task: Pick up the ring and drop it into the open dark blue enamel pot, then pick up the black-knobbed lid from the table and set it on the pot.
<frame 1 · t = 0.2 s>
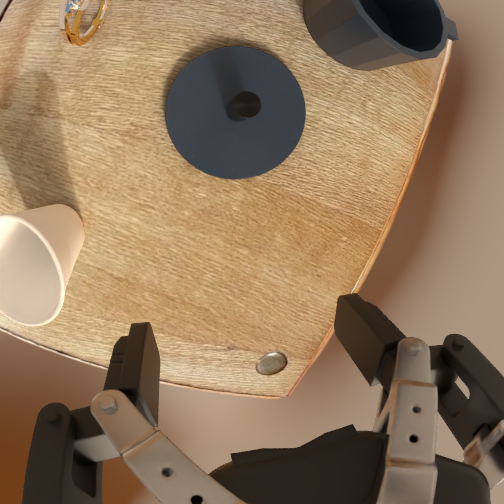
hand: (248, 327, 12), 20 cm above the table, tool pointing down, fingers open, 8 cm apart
ring: (99, 25, 19), on the table
cup: (62, 229, 27), on the table
lid: (237, 110, 25), point 1 cm above the table
pot: (353, 24, 24), on the table
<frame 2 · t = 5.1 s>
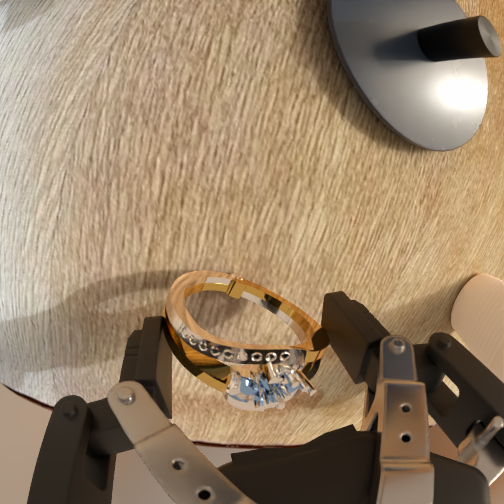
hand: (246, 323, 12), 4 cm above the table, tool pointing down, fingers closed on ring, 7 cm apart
ring: (233, 279, 16), on the table, touching gripper
cup: (467, 299, 22), on the table
lid: (424, 46, 11), point 1 cm above the table
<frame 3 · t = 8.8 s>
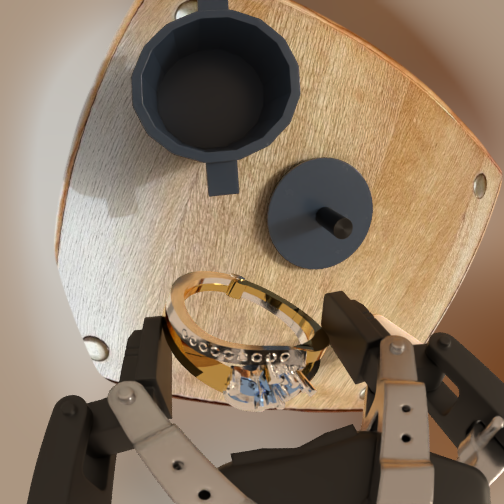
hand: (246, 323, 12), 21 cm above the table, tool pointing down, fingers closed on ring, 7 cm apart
ring: (233, 279, 16), point 17 cm above the table, touching gripper
cup: (368, 328, 43), on the table
lid: (322, 215, 33), point 1 cm above the table
pot: (210, 97, 27), on the table
when the fingers open (14 cm above the table, at t = 12.6 s): ring drops 9 cm, resting on pot.
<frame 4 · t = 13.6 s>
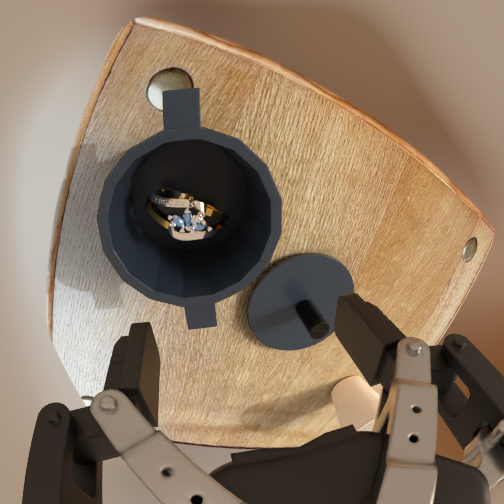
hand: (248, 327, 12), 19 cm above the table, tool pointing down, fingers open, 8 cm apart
ring: (188, 197, 27), resting on pot
cup: (345, 385, 45), on the table
lid: (303, 305, 34), point 1 cm above the table
pot: (189, 196, 27), on the table
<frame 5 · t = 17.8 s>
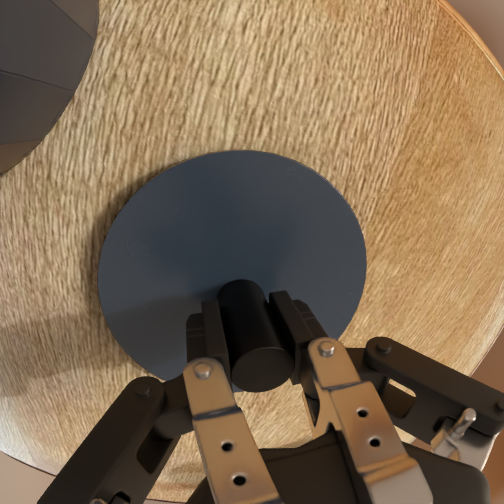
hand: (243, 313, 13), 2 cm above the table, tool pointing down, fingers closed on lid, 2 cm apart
lid: (238, 294, 14), point 1 cm above the table, touching gripper
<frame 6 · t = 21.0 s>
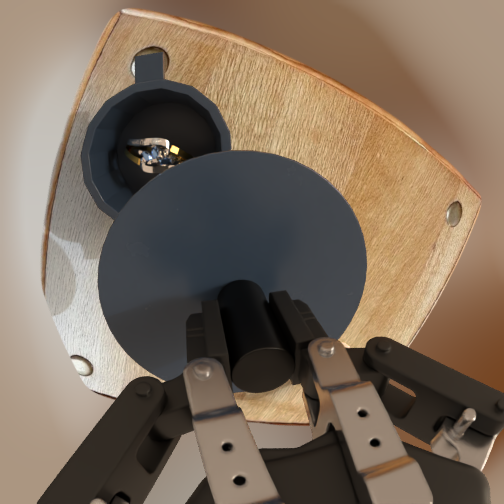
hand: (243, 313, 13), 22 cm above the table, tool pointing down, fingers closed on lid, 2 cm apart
ring: (164, 151, 29), resting on pot
lid: (238, 294, 14), point 21 cm above the table, touching gripper
pot: (165, 151, 30), on the table
when the fingers open (11 cm above the table, at t = 24.6 s): lid stays where it is, resting on pot.
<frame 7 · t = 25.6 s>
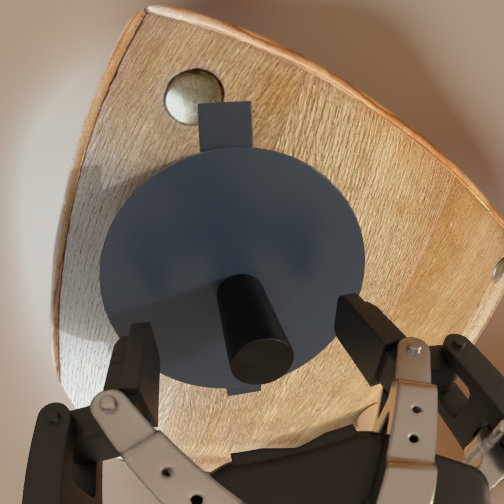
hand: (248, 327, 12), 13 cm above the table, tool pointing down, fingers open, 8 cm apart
cup: (371, 411, 40), on the table
lid: (238, 289, 14), point 9 cm above the table, touching pot
pot: (219, 230, 23), on the table
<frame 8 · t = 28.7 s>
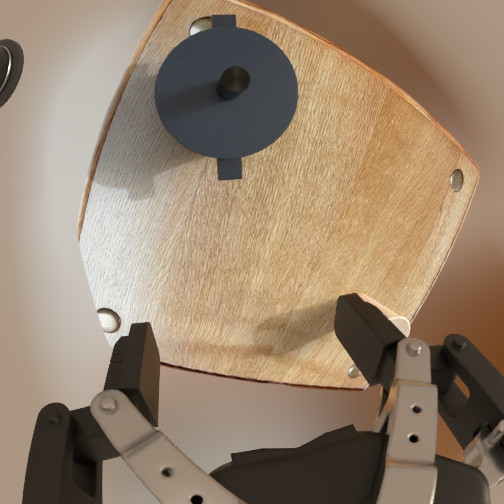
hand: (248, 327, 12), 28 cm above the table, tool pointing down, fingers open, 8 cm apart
cup: (353, 306, 50), on the table
lid: (227, 89, 24), point 9 cm above the table, touching pot
pot: (218, 102, 33), on the table
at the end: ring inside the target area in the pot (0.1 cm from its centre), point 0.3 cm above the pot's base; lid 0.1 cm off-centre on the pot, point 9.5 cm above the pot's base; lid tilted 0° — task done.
